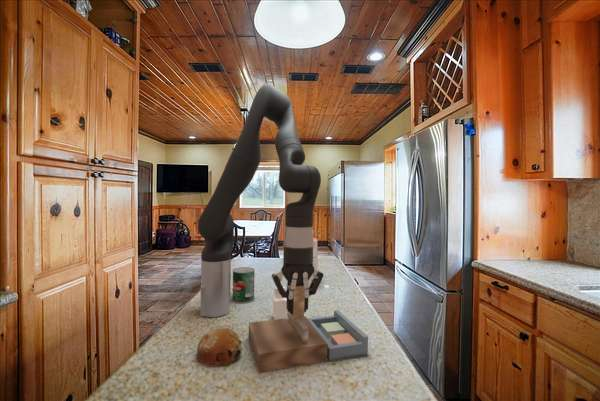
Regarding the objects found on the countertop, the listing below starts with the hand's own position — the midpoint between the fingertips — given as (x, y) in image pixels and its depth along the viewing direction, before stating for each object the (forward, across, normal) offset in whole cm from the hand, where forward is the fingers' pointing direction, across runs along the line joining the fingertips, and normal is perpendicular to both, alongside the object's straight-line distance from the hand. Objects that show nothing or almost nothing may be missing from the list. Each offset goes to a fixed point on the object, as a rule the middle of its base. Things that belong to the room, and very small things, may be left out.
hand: (297, 311), depth 73 cm
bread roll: (+9, +18, -1) cm, 21 cm away
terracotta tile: (+7, -11, +4) cm, 14 cm away
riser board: (+9, +3, 0) cm, 9 cm away
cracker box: (+9, -18, -48) cm, 52 cm away
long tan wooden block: (+4, 0, 0) cm, 4 cm away
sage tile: (+7, -11, -3) cm, 14 cm away
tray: (+9, -10, 0) cm, 14 cm away
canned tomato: (+9, +9, -37) cm, 39 cm away
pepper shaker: (+9, 0, -18) cm, 20 cm away
